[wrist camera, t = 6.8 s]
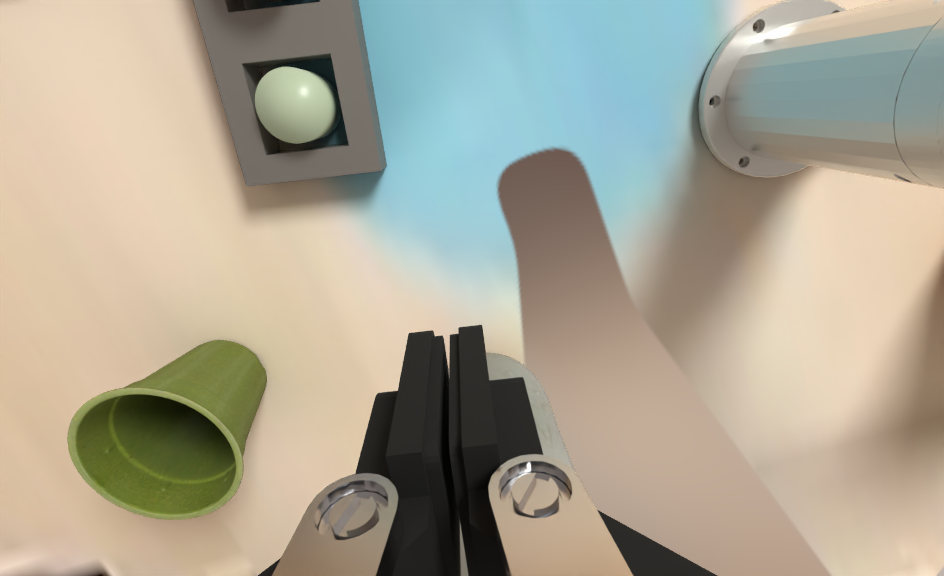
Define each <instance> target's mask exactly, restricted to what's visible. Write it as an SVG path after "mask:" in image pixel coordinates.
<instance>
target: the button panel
mask: <svg viewBox="0 0 944 576" xmlns="http://www.w3.org/2000/svg"><path fill="white" fill-rule="evenodd" d="M193 2H194V6H195V9H196V13H197V16H198V19H199V23H200V26H201V30H202V33H203V37H204V40H205V44H206V47H207V51H208V54H209V58H210V61H211V65H212V68H213V72H214V75H215V79H216V82H217V86H218V89H219V92H220V96H221V99H222V103H223V106H224V110H225V113H226V117H227V120H228V124H229V127H230V131H231V134H232V138H233V141H234V145H235V148H236V152H237V155H238V158H239V162H240V165H241V169H242V172H243V176H244V179H245V183H246V186H255V185H264V184H272V183H281V182H290V181H298V180H307V179H315V178H324V177H333V176H341V175H350V174H358V173H367V172H376V171H382V170H383V169H384V168H385V167H386V166H387V165H386V159H385V153H384V147H383V141H382V136H381V130H380V124H379V118H378V112H377V107H376V101H375V95H374V89H373V83H372V78H371V72H370V66H369V60H368V54H367V49H366V43H365V37H364V31H363V25H362V20H361V14H360V8H359V2H358V0H320V2H314V3H306V4H297V5H288V6H280V7H271V8H263V9H254V10H244V6H243V2H242V0H193ZM331 58H332V63H333V69H334V74H335V79H336V84H337V89H338V94H339V99H340V104H341V109H342V114H343V119H344V124H345V129H346V134H347V139H348V144H340V145H331V146H323V147H314V148H305V149H297V150H288V151H280V148H279V144H278V140H277V138H276V137H275V136H273V135H272V134H271V133H270V132H269V131H268V130H267V129H266V128H265V127H264V125H263V124H262V122H261V121H260V119H259V117H258V114H257V111H256V107H255V93H256V89H257V86H258V84H259V82H260V80H261V79H262V77H261V73H260V69H259V67H262V66H270V65H279V64H288V63H296V62H305V61H313V60H322V59H331Z"/></svg>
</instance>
